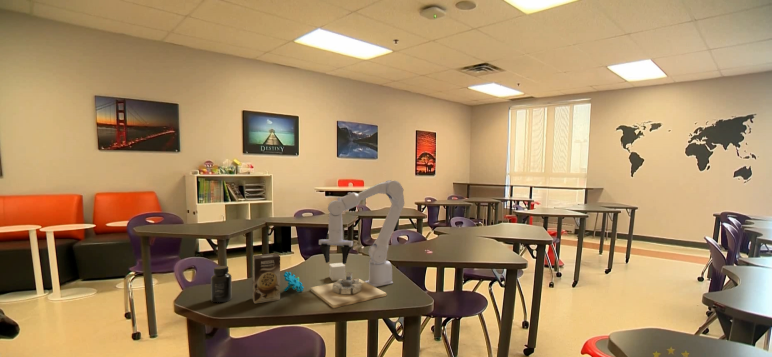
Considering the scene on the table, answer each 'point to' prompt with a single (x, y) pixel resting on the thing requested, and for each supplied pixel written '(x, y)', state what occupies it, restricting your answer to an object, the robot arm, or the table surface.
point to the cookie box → (266, 278)
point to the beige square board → (345, 299)
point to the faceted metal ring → (354, 287)
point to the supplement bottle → (221, 285)
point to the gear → (293, 282)
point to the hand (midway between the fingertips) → (335, 262)
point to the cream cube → (337, 271)
